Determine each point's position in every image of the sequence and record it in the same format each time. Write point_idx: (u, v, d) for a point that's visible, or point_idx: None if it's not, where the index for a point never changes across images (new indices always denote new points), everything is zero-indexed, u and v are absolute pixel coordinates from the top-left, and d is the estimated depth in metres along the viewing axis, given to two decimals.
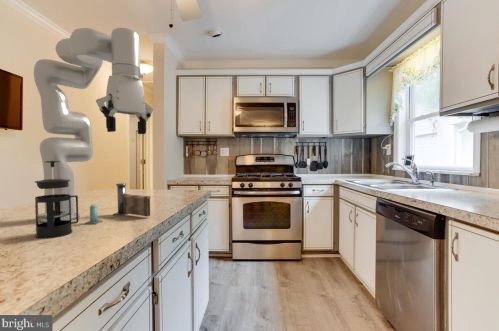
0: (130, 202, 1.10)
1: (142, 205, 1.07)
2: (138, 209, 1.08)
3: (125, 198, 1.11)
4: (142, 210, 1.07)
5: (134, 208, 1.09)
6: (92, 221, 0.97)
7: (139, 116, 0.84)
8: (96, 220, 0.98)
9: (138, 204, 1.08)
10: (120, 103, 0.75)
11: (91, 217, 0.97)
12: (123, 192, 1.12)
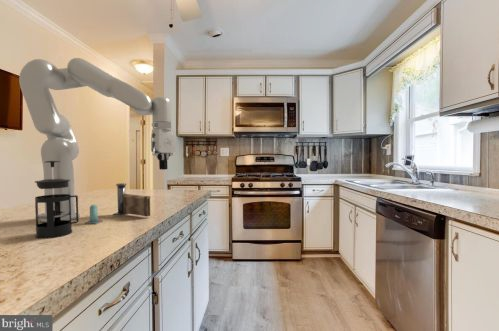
0: (130, 202, 1.10)
1: (142, 205, 1.07)
2: (138, 209, 1.08)
3: (125, 198, 1.11)
4: (142, 210, 1.07)
5: (134, 208, 1.09)
6: (92, 221, 0.97)
7: None
8: (96, 220, 0.98)
9: (138, 204, 1.08)
10: None
11: (91, 217, 0.97)
12: (123, 192, 1.12)
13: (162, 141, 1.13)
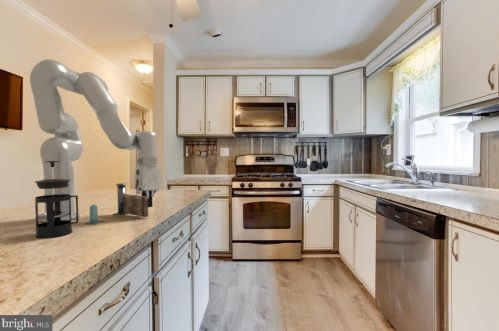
0: (129, 202, 1.10)
1: (140, 205, 1.06)
2: (136, 209, 1.07)
3: (124, 198, 1.11)
4: (140, 210, 1.06)
5: (133, 208, 1.09)
6: (92, 221, 0.97)
7: None
8: (96, 220, 0.98)
9: (136, 204, 1.07)
10: None
11: (91, 217, 0.97)
12: (123, 192, 1.12)
13: (147, 178, 1.06)
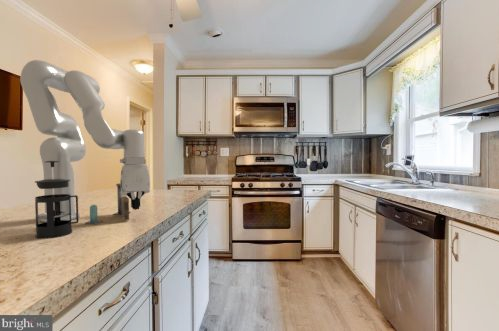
0: None
1: None
2: (123, 211, 1.04)
3: (120, 198, 1.10)
4: None
5: (122, 210, 1.06)
6: (92, 221, 0.97)
7: None
8: (96, 220, 0.98)
9: (123, 206, 1.04)
10: None
11: (91, 217, 0.97)
12: None
13: (129, 179, 1.01)
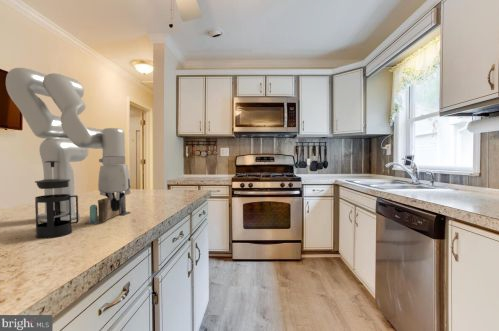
0: None
1: None
2: None
3: None
4: None
5: None
6: (92, 221, 0.97)
7: None
8: (96, 220, 0.98)
9: None
10: None
11: (91, 217, 0.97)
12: None
13: (103, 179, 0.98)
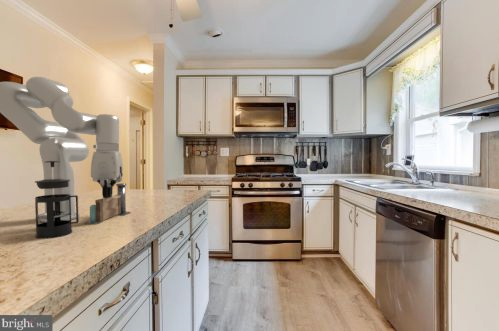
0: None
1: None
2: None
3: None
4: None
5: None
6: (92, 221, 0.97)
7: None
8: None
9: None
10: None
11: (91, 217, 0.97)
12: (123, 192, 1.12)
13: (95, 165, 0.98)
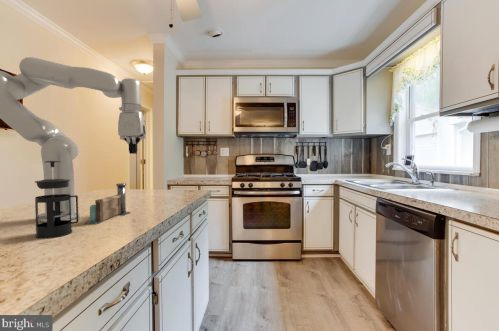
0: None
1: None
2: None
3: None
4: None
5: None
6: (92, 221, 0.97)
7: None
8: None
9: None
10: None
11: (91, 217, 0.97)
12: (123, 192, 1.12)
13: (122, 124, 1.10)
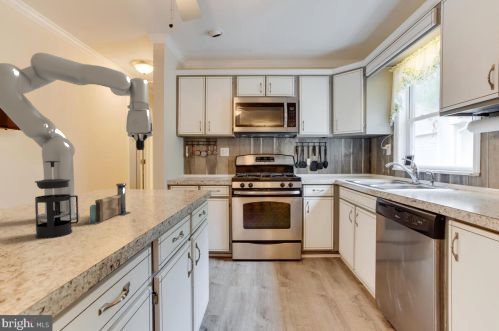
0: None
1: None
2: None
3: None
4: None
5: None
6: (92, 221, 0.97)
7: None
8: None
9: None
10: None
11: (91, 217, 0.97)
12: (123, 192, 1.12)
13: (130, 122, 1.15)
